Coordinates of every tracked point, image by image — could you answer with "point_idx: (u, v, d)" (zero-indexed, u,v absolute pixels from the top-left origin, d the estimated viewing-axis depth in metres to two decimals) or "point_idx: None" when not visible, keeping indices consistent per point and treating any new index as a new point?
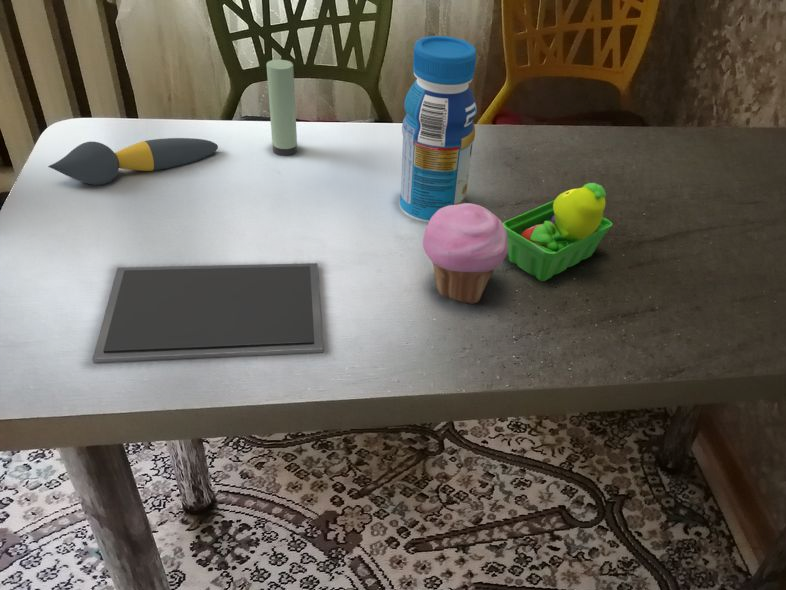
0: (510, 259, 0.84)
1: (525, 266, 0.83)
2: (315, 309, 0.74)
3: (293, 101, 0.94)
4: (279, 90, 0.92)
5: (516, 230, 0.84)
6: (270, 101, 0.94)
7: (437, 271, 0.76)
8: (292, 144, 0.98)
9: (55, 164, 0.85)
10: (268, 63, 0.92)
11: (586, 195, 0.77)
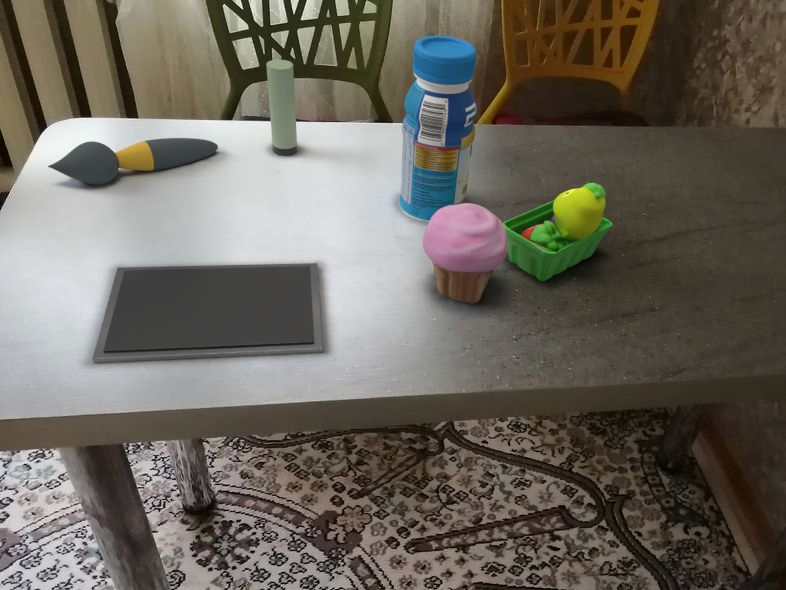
0: (510, 259, 0.84)
1: (525, 267, 0.83)
2: (315, 309, 0.74)
3: (293, 101, 0.94)
4: (279, 90, 0.92)
5: (516, 230, 0.84)
6: (270, 101, 0.94)
7: (437, 271, 0.76)
8: (292, 144, 0.98)
9: (55, 164, 0.85)
10: (268, 63, 0.92)
11: (586, 195, 0.77)
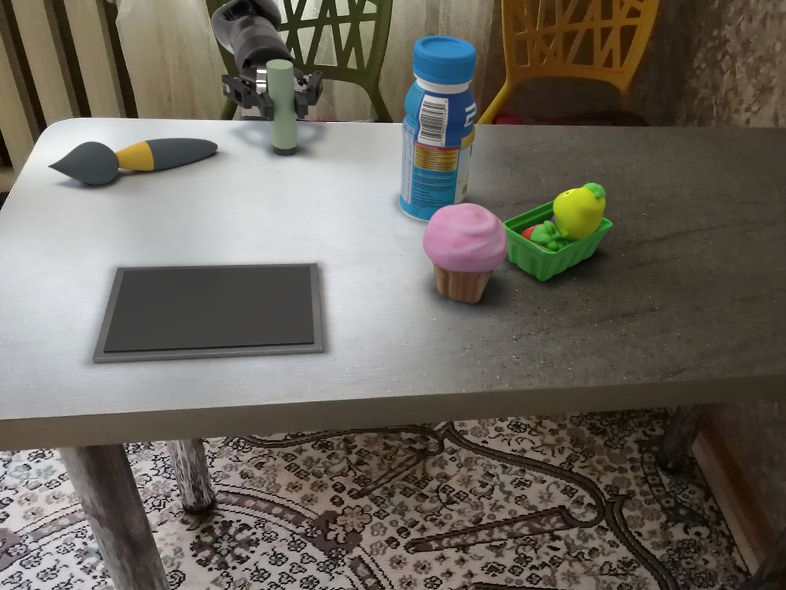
0: (510, 259, 0.84)
1: (525, 267, 0.83)
2: (315, 309, 0.74)
3: (293, 101, 0.94)
4: (279, 90, 0.92)
5: (516, 230, 0.84)
6: None
7: (437, 271, 0.76)
8: (292, 144, 0.98)
9: (55, 164, 0.85)
10: (268, 63, 0.92)
11: (586, 195, 0.77)
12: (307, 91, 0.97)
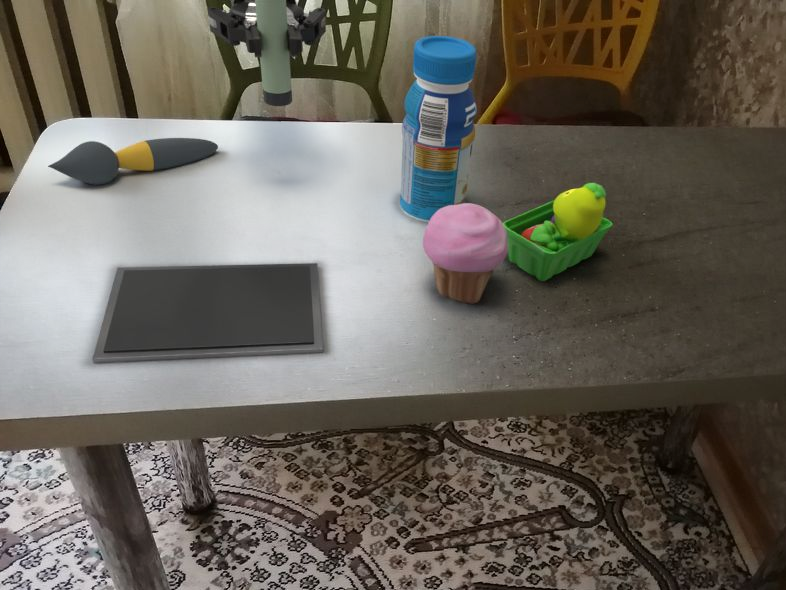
0: (510, 259, 0.84)
1: (525, 266, 0.83)
2: (315, 309, 0.74)
3: (285, 35, 0.81)
4: (267, 21, 0.79)
5: (516, 230, 0.84)
6: None
7: (437, 271, 0.76)
8: (285, 88, 0.84)
9: (55, 164, 0.85)
10: None
11: (587, 195, 0.77)
12: (304, 27, 0.83)
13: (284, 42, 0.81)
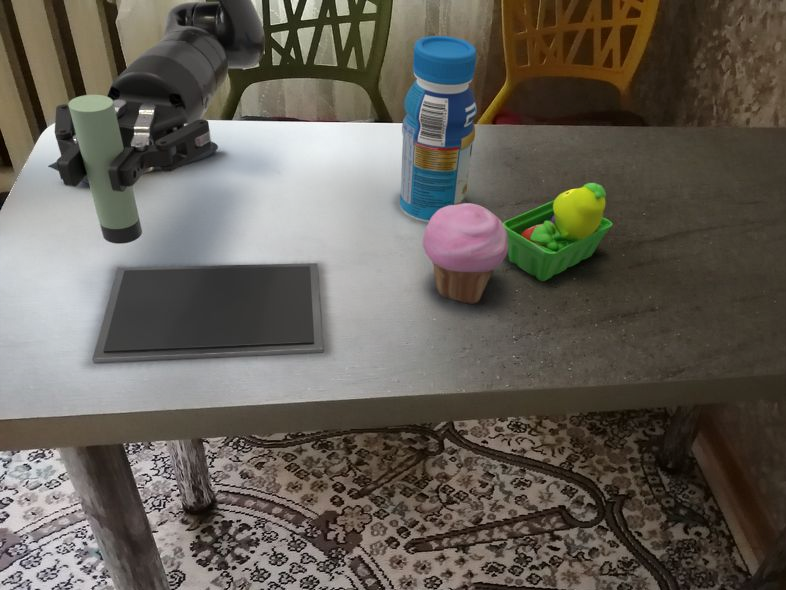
0: (510, 259, 0.84)
1: (525, 266, 0.83)
2: (315, 309, 0.74)
3: None
4: (84, 142, 0.59)
5: (516, 230, 0.84)
6: None
7: (437, 271, 0.76)
8: (121, 223, 0.63)
9: (55, 164, 0.85)
10: (76, 98, 0.58)
11: (586, 195, 0.77)
12: (154, 150, 0.62)
13: None
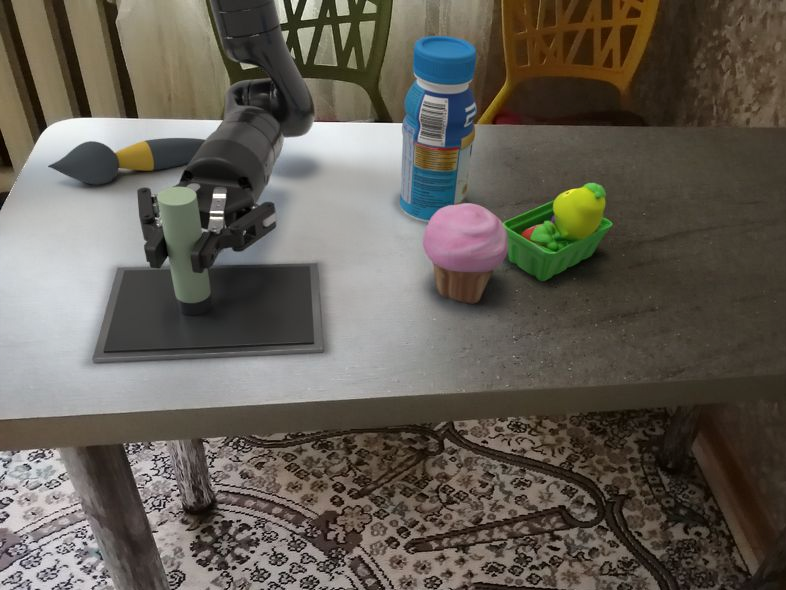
0: (510, 259, 0.84)
1: (525, 267, 0.83)
2: (315, 309, 0.74)
3: (193, 246, 0.66)
4: (169, 230, 0.65)
5: (516, 230, 0.84)
6: None
7: (437, 271, 0.76)
8: (196, 298, 0.70)
9: (55, 164, 0.85)
10: (163, 191, 0.65)
11: (586, 195, 0.77)
12: (228, 233, 0.68)
13: None
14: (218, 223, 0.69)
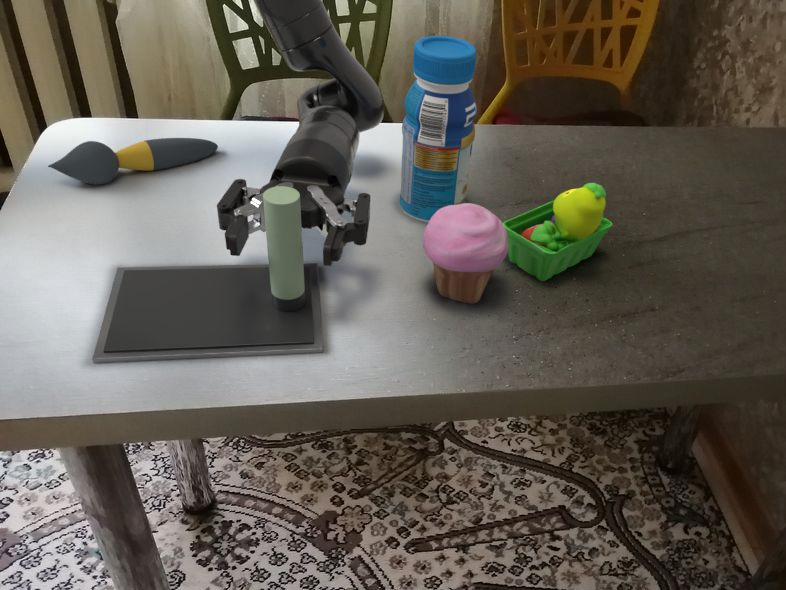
0: (510, 259, 0.84)
1: (525, 266, 0.83)
2: (315, 309, 0.74)
3: (294, 243, 0.68)
4: (273, 229, 0.67)
5: (516, 230, 0.84)
6: None
7: (437, 271, 0.76)
8: (292, 295, 0.72)
9: (55, 164, 0.85)
10: (268, 190, 0.66)
11: (587, 195, 0.77)
12: (353, 227, 0.71)
13: (293, 250, 0.69)
14: (339, 217, 0.71)
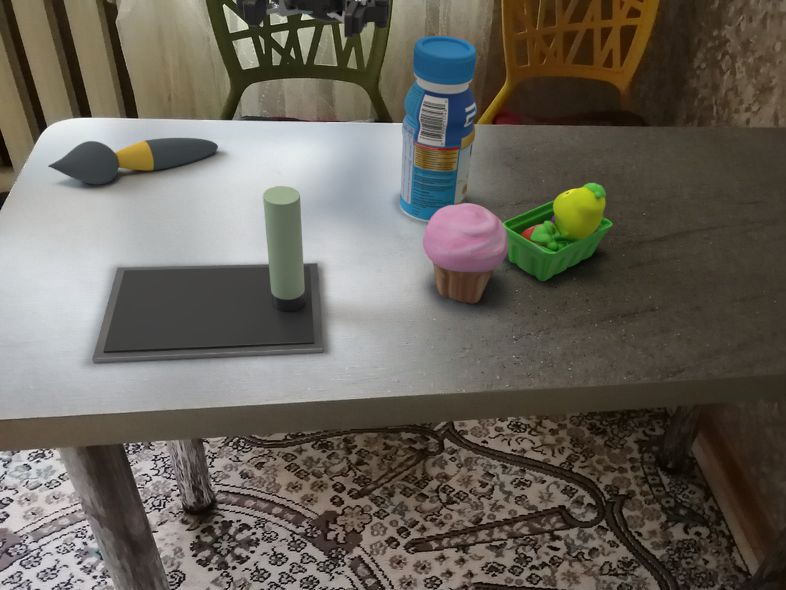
0: (510, 259, 0.84)
1: (525, 266, 0.83)
2: (315, 309, 0.74)
3: (294, 243, 0.68)
4: (273, 229, 0.67)
5: (516, 230, 0.84)
6: None
7: (437, 271, 0.76)
8: (292, 295, 0.72)
9: (55, 164, 0.86)
10: (268, 190, 0.66)
11: (586, 195, 0.77)
12: (374, 5, 0.69)
13: (293, 250, 0.69)
14: None
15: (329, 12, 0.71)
